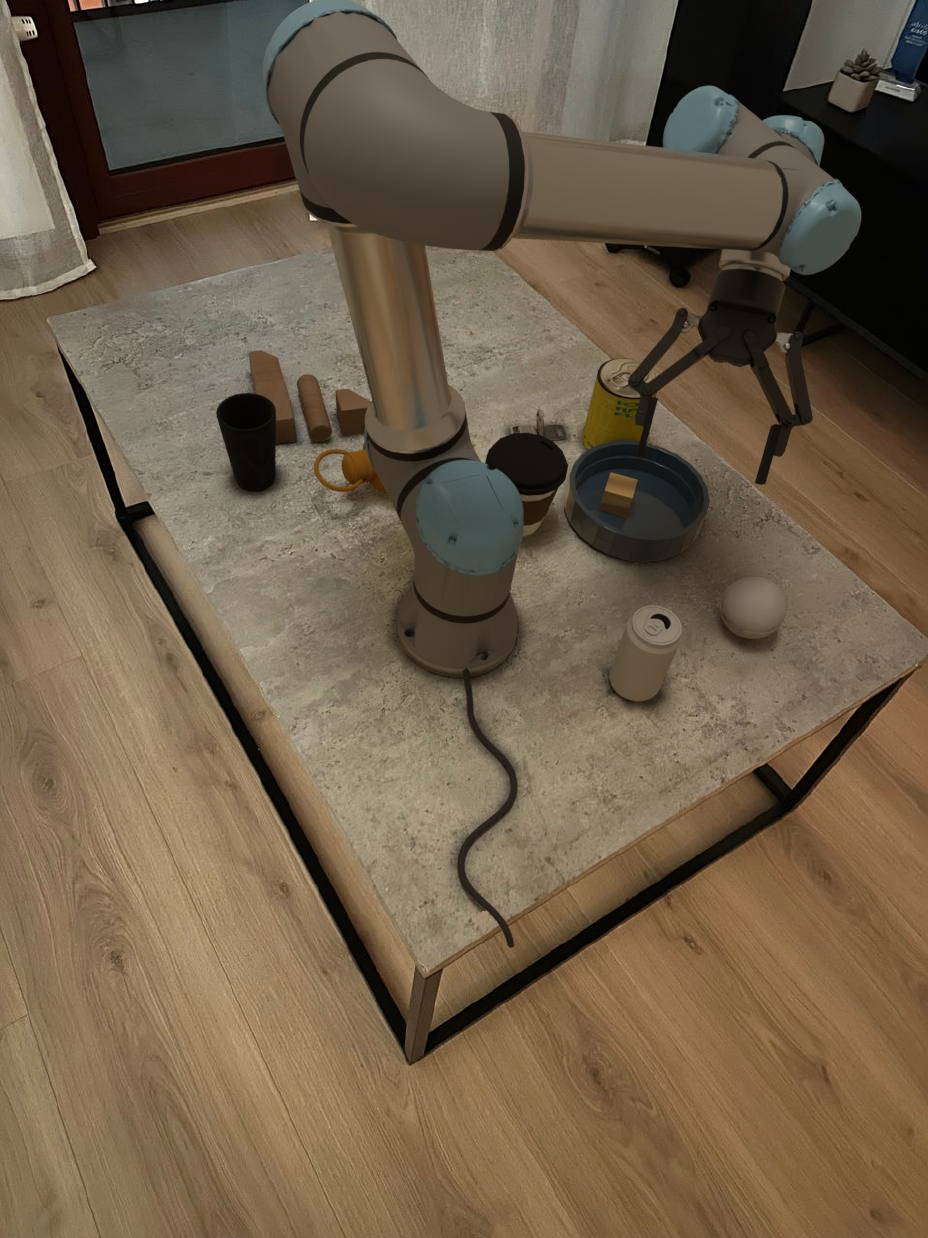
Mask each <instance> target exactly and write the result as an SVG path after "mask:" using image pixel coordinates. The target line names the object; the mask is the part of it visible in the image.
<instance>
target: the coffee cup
mask: <svg viewBox="0 0 928 1238" xmlns="http://www.w3.org/2000/svg"><path fill="white" fill-rule="evenodd" d="M566 458H567V457H566V455H565V453H564V451H563V449H562V448H560V446H558V445H557V443H555V442H554V440H549V439H547V438H545V437H543V436H541V435H539V434H538V433H537V434H532V433H518V432H515V433H513V434H510V433H509V434H508V435H505V436H502V437H500V438H499V439H497V441H495V443H493V444H492V445H491V447H490V448H489V449H488V450H487V453H486V458H485V461H484V463H485V464H487V465H488V469H490V470H494V469H498V470H500V471H501V472H502V473H504V474H505V475H506V476H507V477H508V478H509V479H510V480H511V481H512V482H513V484H514V485H515V487H516V488H517V490H518V492H519V494H520V497H521V499H522V503H523V512H524V516H523V521H524V526H523V537H522V538H524V537H528V536H530V535H532V534H533V533H535V532H536V531H537V530H538V528H540V526H541V524H542V522H543V519H544V518H545V517H546V516H547V514H548V512H549V509H550V507H551V505H552V503H553V501H554V498H555V496H556V494H557V492H558V489H559V488H560V487H561V486H562V485H563V484H564V483H565V482H566V480H567V475H568V470H569V463H568V461H567V459H566Z"/></svg>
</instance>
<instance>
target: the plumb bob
mask: <svg viewBox="0 0 928 1238" xmlns="http://www.w3.org/2000/svg"><path fill="white" fill-rule="evenodd" d="M472 445H473V448H474V449H475V447H476V445H477V444H474V443H472ZM334 454H336V455H343V457H342V460H341V471H342V474H343V477H344V479H345V481H346V482H348V483H349V484H350V485H349V486H337V485H334V484H332V483H329V482H328V481H327V480H326V479H324V477H323V476H322V474H321V472H320V470H319V466H320V462H321V461H322V460H323V458H325V457H326V456H329V455H334ZM313 473H314V475H315V477H316V479H317V480H318V482H320V483H321V484H322V486H324V487H326V488H327V489H329V490H332V491H334V492H341V493H347V492H352V491H354V490H356V489H357V488H359V487H360V486H361V485H362V484H365V483H369V484H370V486H371V487H372V488H373V489H374V490H376V491H377V492H378V493H380V494H382V495H385V496H388V494H387V492H386V490H385V488H384V486H383V484H382V482H381V480H380V478H379V476H378V474H377V473H376V471H375V470H374V468H373V466H372V465H371V463H370V460H369V458H368V455H367V451H366V445H365V441H364V442H363V445H362V449H360V450H355V451H348V450H346V449H341V448H331V449H327V450H324V451H323V452H321V453H320V454H319V455H317V457H316V458H315V460H314V464H313Z"/></svg>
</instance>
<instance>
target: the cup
mask: <svg viewBox="0 0 928 1238" xmlns="http://www.w3.org/2000/svg"><path fill="white" fill-rule="evenodd" d="M215 414H216V419H217V422H218V427H219V430H220V433H221V436H222V440H223V443H224V446H225V451H226V453H227V456H228V460H229V463H230V467H231V471H232V472H233V477H234V480H235V483H236V485H237V487H239V488H240V489H242V490H243V491H245V492H250V493H259V492H263V491H265V490H268V489H269V488H271V487H272V486H273V485H274V483H275V481H276V469H277V468H276V466H277V465H276V461H277V460H276V459H277V456H276V455H277V453H276V452H277V444H276V409H275V406H274V404H273V403H272V402H271V401H270V400H269V399H268V398H266V397H264V396H262V395H258V394H255V392H254V393H252V392H242V393H236V394H233V395H231V396H228V397H226V398H225V399H223V400H222V401H221V402H220V403H219V404H218V406H217V408H216V411H215Z"/></svg>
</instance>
